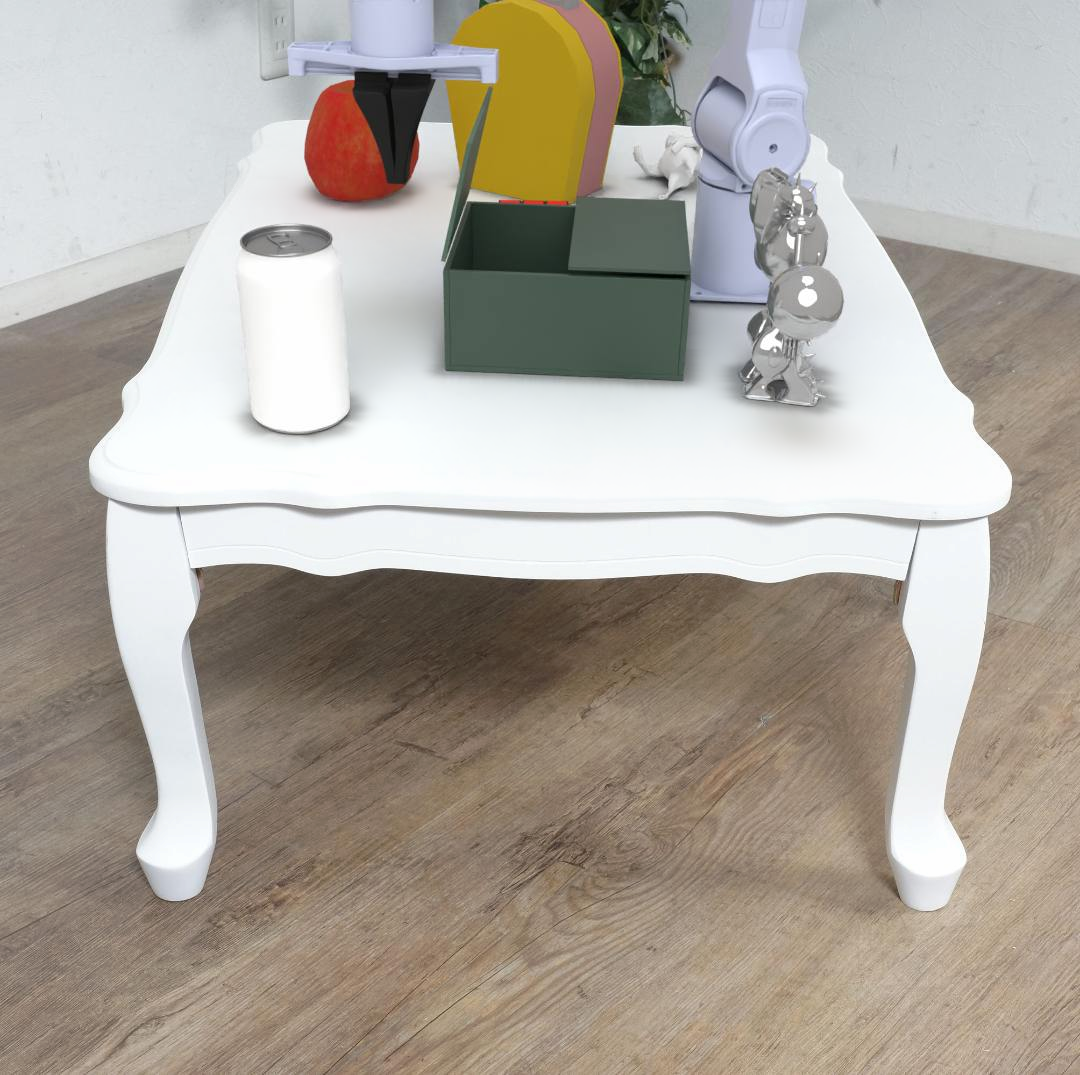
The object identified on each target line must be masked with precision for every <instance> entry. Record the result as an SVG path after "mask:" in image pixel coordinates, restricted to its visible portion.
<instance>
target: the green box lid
mask: <svg viewBox="0 0 1080 1075" xmlns="http://www.w3.org/2000/svg"><path fill="white" fill-rule="evenodd" d="M492 90H493V87H489V88H488V91H487V93H486V96H485V98H484V101H483V103H482V106H481V109H480V111H479V114H478V116H477V119H476V121H475V124H474V127H473V129H472V132H471V134H470V137H469V139H468V142H467V145H466V150H465V154H464V159H463V163H462V168H461V173H460V172H459V178H458V182H457V185H456V186H457V187H456V191H455V195H454V200H453V205H452V209H451V214H450V218H449V223H448V227H447V232H446V236H445V241H444V245H443V250H442V255H441V259H440V262H442V263H446V261H447V258H448V255H449V252H450V250H451V247H452V244H453V241H454V238H455V235H456V232H457V229H458V226H459V223H460V221H461V218H462V215H463V212H464V209H465V206H466V203H467V201H468V198H469V195H470V191H471V188H470V187H471V183H472V178H473V174H474V169H475V165H476V161H477V156H478V152H479V147H480V143H481V138H482V134H483V130H484V125H485V121H486V116H487V112H488V108H489V103H490V99H491V94H492Z"/></svg>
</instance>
